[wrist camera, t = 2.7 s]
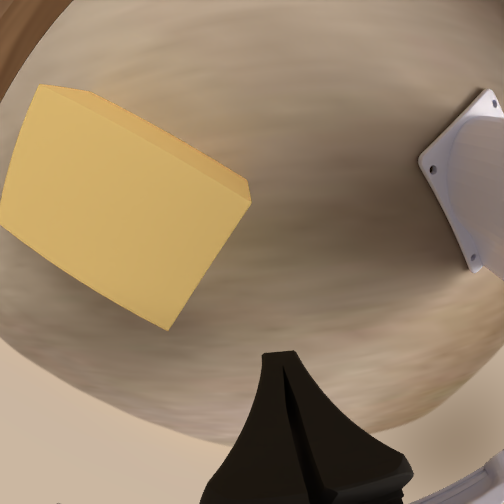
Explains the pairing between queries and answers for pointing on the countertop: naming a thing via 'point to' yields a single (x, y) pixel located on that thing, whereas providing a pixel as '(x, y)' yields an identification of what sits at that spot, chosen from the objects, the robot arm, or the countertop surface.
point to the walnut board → (23, 32)
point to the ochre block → (118, 201)
